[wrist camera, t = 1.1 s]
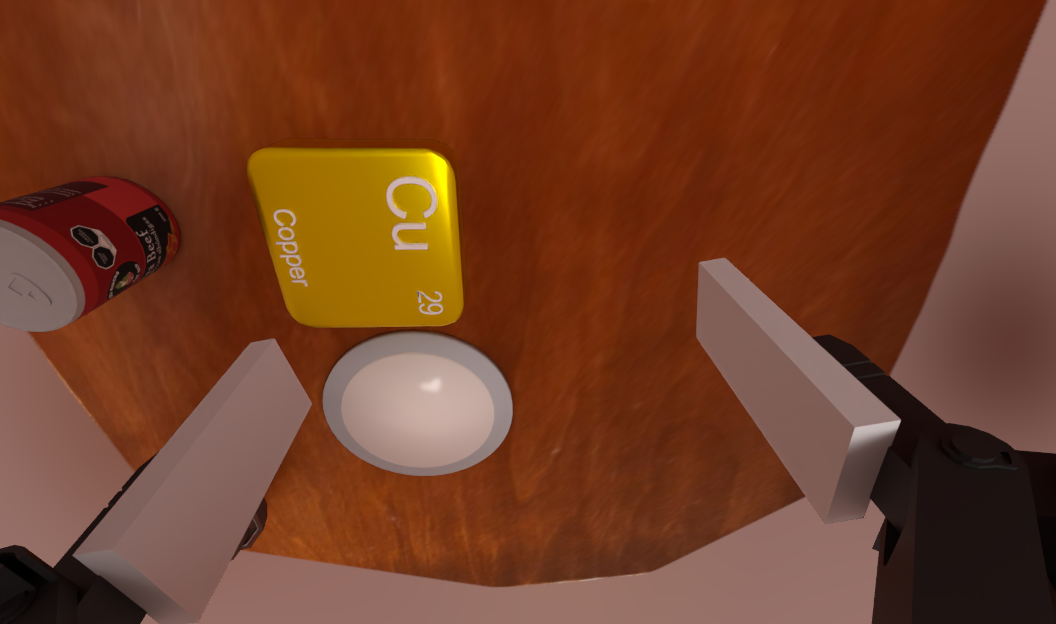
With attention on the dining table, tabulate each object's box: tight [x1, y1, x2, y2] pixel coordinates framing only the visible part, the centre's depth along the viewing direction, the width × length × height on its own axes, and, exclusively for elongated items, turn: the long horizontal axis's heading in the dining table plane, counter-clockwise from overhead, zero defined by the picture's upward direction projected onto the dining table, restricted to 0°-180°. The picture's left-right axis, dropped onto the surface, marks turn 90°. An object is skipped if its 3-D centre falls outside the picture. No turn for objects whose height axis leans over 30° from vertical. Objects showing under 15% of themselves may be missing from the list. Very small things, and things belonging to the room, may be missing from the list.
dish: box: [323, 330, 513, 476], centre depth 47 cm, size 20×20×2 cm
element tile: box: [246, 139, 467, 328], centre depth 36 cm, size 15×15×5 cm
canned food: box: [0, 177, 180, 332], centre depth 32 cm, size 8×8×11 cm
